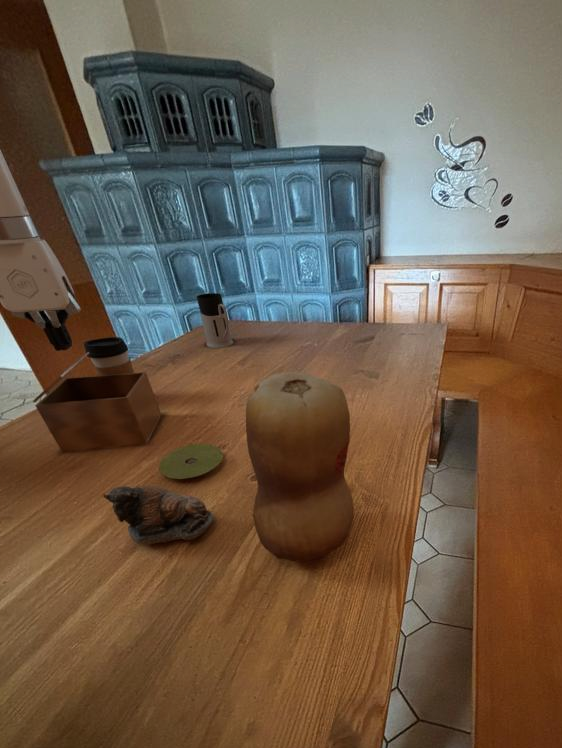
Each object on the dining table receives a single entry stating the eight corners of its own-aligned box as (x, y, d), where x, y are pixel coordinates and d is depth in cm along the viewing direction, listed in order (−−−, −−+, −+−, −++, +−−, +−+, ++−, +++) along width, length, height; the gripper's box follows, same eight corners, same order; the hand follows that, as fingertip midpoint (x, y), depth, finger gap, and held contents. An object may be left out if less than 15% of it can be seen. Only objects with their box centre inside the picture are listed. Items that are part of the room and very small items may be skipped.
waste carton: (62, 453, 77) (34, 405, 70) (87, 422, 87) (65, 377, 80) (147, 445, 79) (127, 397, 72) (161, 415, 89) (145, 372, 82)
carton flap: (34, 402, 70) (32, 401, 70) (65, 375, 80) (63, 374, 80) (62, 377, 68) (59, 375, 68) (89, 353, 78) (87, 351, 78)
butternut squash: (343, 587, 50) (333, 416, 35) (247, 573, 52) (197, 406, 37) (361, 515, 61) (360, 361, 46) (281, 506, 63) (254, 356, 48)
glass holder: (226, 338, 135) (215, 291, 125) (246, 347, 126) (236, 298, 117) (202, 343, 130) (189, 295, 121) (221, 354, 122) (209, 303, 112)
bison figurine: (215, 512, 62) (198, 461, 56) (216, 543, 57) (197, 490, 50) (134, 529, 59) (107, 477, 53) (127, 563, 54) (96, 510, 48)
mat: (227, 449, 77) (225, 440, 76) (221, 482, 68) (219, 474, 67) (169, 455, 76) (166, 446, 74) (155, 490, 67) (151, 481, 66)
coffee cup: (102, 403, 94) (74, 342, 85) (135, 391, 100) (111, 332, 91) (120, 412, 90) (93, 348, 81) (153, 399, 96) (131, 338, 87)
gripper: (-63, 235, 56) (9, 358, 67) (48, 231, 58) (100, 352, 69) (-31, 230, 62) (30, 344, 73) (69, 227, 64) (114, 339, 75)
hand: (64, 348), depth 71 cm, fingers closed
